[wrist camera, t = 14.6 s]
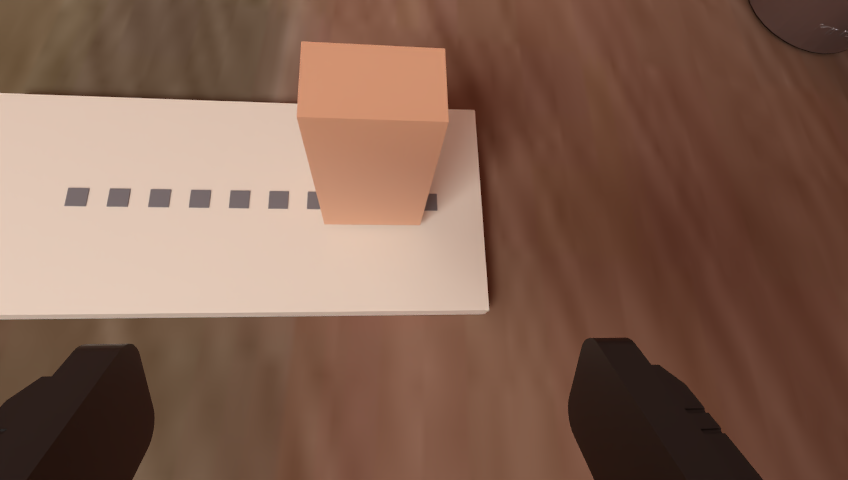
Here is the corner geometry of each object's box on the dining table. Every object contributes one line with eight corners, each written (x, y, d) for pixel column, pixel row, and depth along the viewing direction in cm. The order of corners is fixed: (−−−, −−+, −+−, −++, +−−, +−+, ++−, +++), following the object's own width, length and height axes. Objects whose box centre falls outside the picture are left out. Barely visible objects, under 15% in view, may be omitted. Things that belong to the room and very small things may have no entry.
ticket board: (15, 106, 27) (-1, 92, 26) (470, 121, 30) (474, 109, 29) (-45, 319, 23) (-67, 315, 22) (484, 314, 26) (489, 309, 25)
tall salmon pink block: (326, 172, 26) (301, 41, 17) (418, 174, 27) (444, 48, 17) (324, 224, 25) (296, 116, 16) (420, 225, 26) (448, 122, 16)
